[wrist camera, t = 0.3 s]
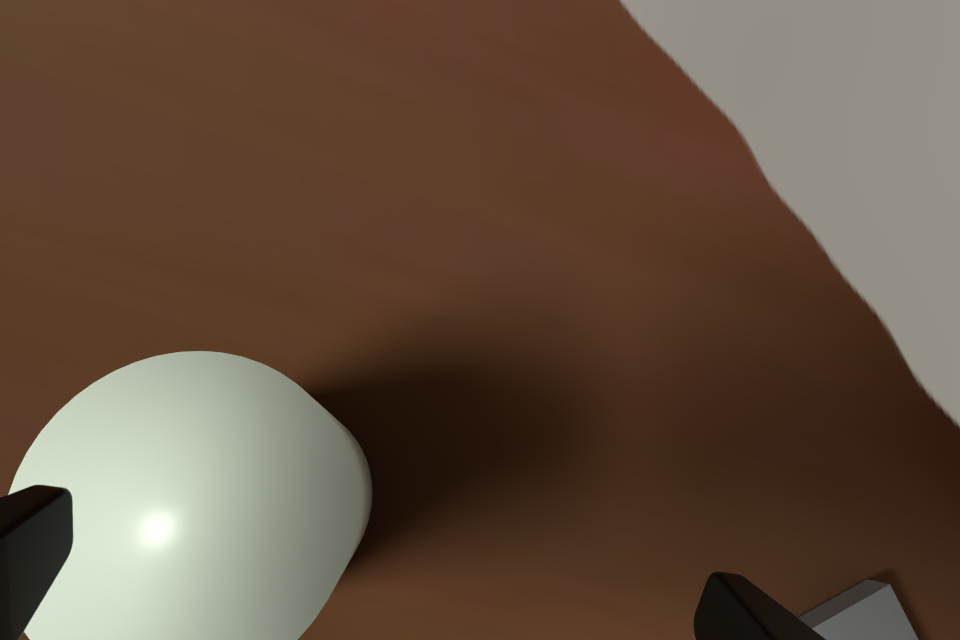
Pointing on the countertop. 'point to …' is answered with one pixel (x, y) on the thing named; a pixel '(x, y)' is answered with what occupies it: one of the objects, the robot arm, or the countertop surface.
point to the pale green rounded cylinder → (198, 503)
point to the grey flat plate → (861, 615)
